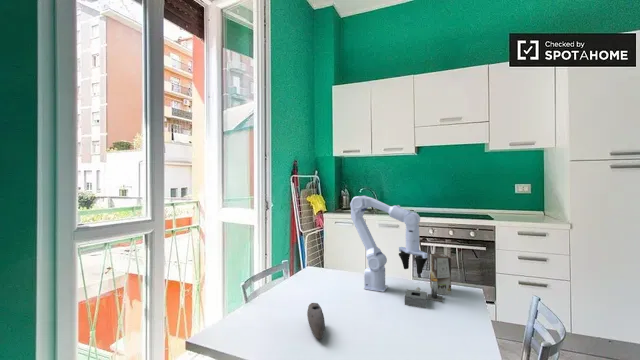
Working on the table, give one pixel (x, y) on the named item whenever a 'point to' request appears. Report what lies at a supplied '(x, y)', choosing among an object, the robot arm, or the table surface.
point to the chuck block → (416, 298)
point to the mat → (439, 299)
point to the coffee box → (441, 272)
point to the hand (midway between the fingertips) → (412, 271)
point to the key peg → (434, 288)
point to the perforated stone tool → (316, 320)
